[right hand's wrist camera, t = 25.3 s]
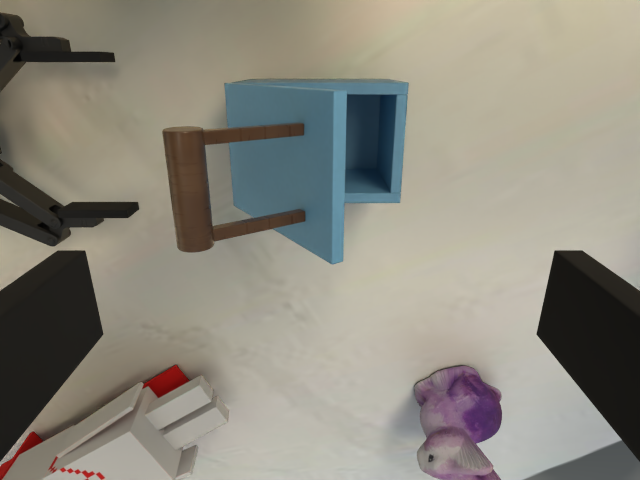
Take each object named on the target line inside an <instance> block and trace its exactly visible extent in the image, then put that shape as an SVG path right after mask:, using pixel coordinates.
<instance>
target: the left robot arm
mask: <svg viewBox="0 0 640 480" xmlns="http://www.w3.org/2000/svg"><path fill="white" fill-rule="evenodd" d="M23 27H24V22H23V20H22V19H21V18H20V17H19V16H17V15H12V14H6V13H1V12H0V43H1V44H0V92H1V91H2V89H3V88H4V87H5V86H6V85H7V84H8V82H9V81H10V80H11V79H12V78H13V77H14V76H15V74H16V73H17V72H18V71H19V70H20V69H21V67H22V66H23V65H24V64H25V63H26V62H115V57H114V53H109V52H71V48H70V42H69V40H67V39H64V38H60V37H31V36H29V35H28V34H27V33H26V31H25V30H24V28H23ZM1 153H2V152H1V148H0V154H1ZM0 194H1V195H3V196H4V197H6V198H7V199H9V200H10V201H12V202H13V203H15V204H16V205H18V206H19V207H18V206H16V205H14V204H11V203H9V202H6V201H4V200H2V199H0V225H1V226H3V227H6V228H8V229H10V230H13V231H15V232H18V233H20V234H23V235H25V236H27V237H30V238H32V239H35V240H37V241H39V242H42V243H44V244H47V245H49V246H56V245H57V244H59V243H60V242H62V241H63V240H65V239H66V238H68V237H69V236H70V235H71V231H70V229H69V228H70V227H94V226H97V225H98V224H100V223H101V222H103V221H104V218H129V217H130V216H131V215H132V214H134V213H135V212H136V211H138V210H139V206H138V202H72V203H70V204H68V205H66V206H63V205H62V204H60V203H59V202H57V201H56V200H54V199H53V198H51V197H50V196H48V195H47V194H45V193H44V192H43V191H41V190H40V189H38V188H37V187H35V186H34V185H32V184H31V183H29V182H28V181H26V180H25V179H24V178H22V177H21V176H19V175H18V174H16V173H15V172H14V171H13V168H12V167H11V166H10V165H8V164H7V163H5V162H4V161H2V160H1V159H0Z"/></svg>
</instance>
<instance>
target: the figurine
mask: <svg viewBox="0 0 640 480" xmlns="http://www.w3.org/2000/svg"><path fill="white" fill-rule="evenodd" d="M415 395H416V396H415V397H416V400H417V403H419V405H420V406H421V407H422V408H421V411H420V422H421V426H422V428H423V431H424V433H425V435H426V437H427V439H426V441H425V442H424V443H423V444H422V446H421V447H420V448H419V450H418V452H417V459H418V462H419V466H420V469H421V470H422V471H423V472H425V473H427V474H429V475H431V476H433V477H435V478H438V479H441V480H501V479H500V478H499V476H498V475H497V474H496V472H495V471H494V470H493V465H492V464H491V462H490V461H489V460H488V459H487V457H486V456H485V455H484V454H483V452H482V451H481V450H480V448H479V447H478V446H477V445H476V443H479V442H482V441H485V440H487V439H489V438H490V437H492V436H493V435H495V434H496V433H497V431H498V430H499V428H500V425H501V420H502V410H501V405H500V403H499V402H500V400H501V397H502V395H501V392H500V391H499V390H498V389H497V388H495V387H492V386H490V385H487V384H485V383H483V382H482V380H481V378H480V376H479V374H478V373H477V371H476V370H475V369H473V368H471V367H468V366H458V367H452V368H447V369H443V370H440V371H437V372H436V373H434V374H433V375H431V376H430V377H429V378H427V379H425V380H423V381H420V382H418V383H417V384H416V385H415Z"/></svg>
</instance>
